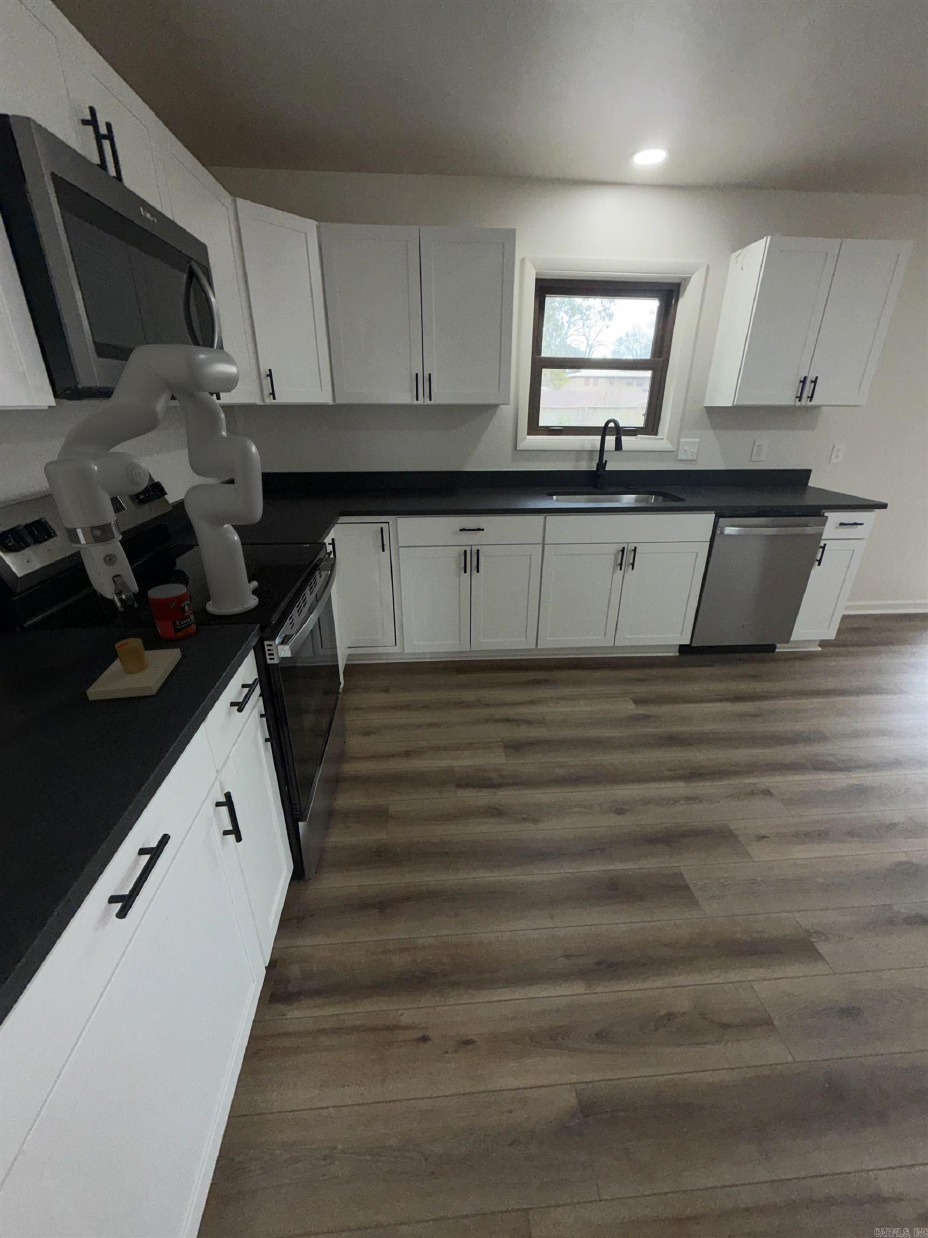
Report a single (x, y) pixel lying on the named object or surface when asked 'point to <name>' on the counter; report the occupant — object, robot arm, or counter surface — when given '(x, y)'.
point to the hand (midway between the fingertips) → (124, 620)
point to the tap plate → (135, 677)
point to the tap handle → (132, 655)
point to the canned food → (172, 611)
